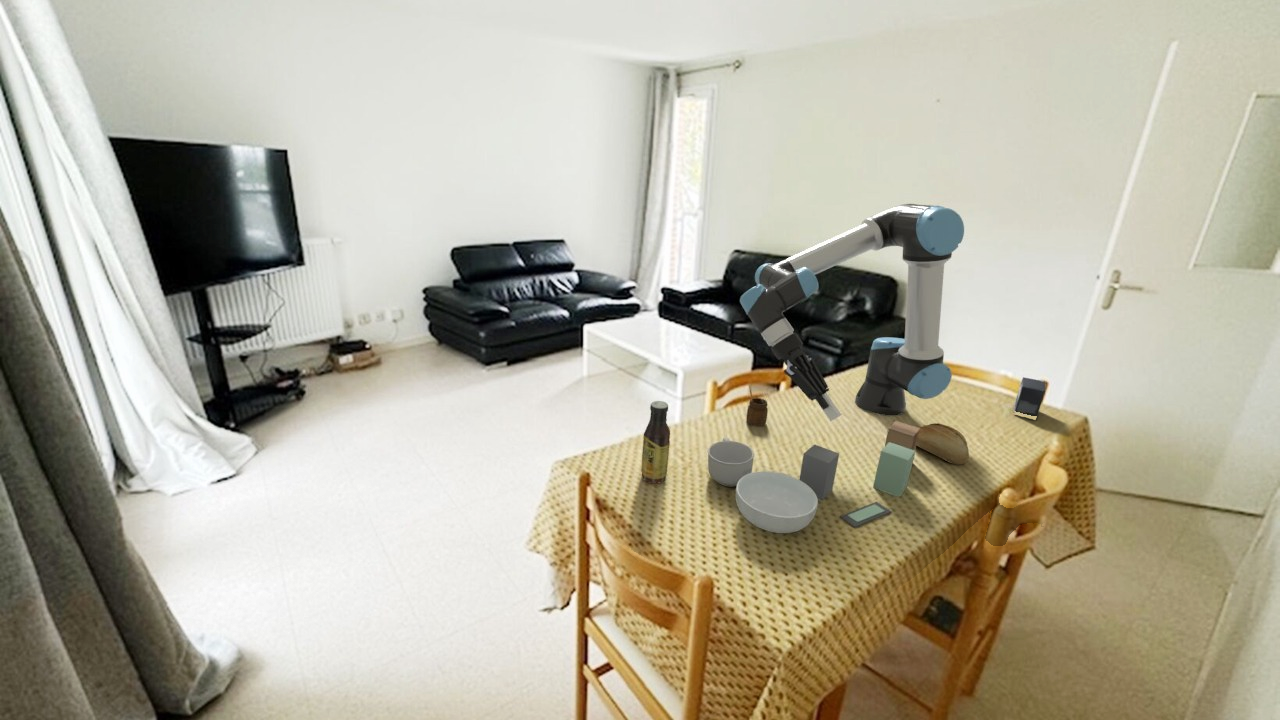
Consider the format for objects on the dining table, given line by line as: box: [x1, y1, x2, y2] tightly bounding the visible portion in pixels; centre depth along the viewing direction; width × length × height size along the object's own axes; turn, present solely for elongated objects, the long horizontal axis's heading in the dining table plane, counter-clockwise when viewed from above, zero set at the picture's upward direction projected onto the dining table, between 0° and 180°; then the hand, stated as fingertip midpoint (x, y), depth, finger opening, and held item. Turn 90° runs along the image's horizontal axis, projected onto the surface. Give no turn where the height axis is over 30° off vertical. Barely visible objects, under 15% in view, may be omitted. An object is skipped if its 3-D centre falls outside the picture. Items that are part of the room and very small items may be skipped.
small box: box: [1013, 377, 1046, 417], centre depth 169 cm, size 11×6×10 cm, turn 144°
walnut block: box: [884, 420, 920, 451], centre depth 136 cm, size 6×6×10 cm
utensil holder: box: [745, 384, 771, 427], centre depth 155 cm, size 6×6×12 cm
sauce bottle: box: [640, 400, 671, 484], centre depth 123 cm, size 7×6×20 cm
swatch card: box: [839, 501, 892, 529], centre depth 115 cm, size 12×4×1 cm, turn 119°
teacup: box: [707, 436, 755, 487], centre depth 127 cm, size 14×11×8 cm
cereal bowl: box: [735, 470, 819, 534], centre depth 111 cm, size 17×17×7 cm
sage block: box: [873, 442, 916, 498], centre depth 125 cm, size 6×6×10 cm
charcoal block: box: [798, 444, 840, 502], centre depth 122 cm, size 6×6×10 cm
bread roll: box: [916, 422, 970, 465], centre depth 142 cm, size 10×15×8 cm, turn 35°
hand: (835, 417), depth 131 cm, fingers closed
